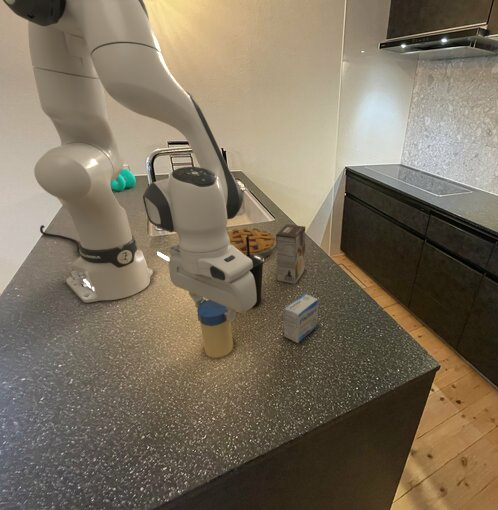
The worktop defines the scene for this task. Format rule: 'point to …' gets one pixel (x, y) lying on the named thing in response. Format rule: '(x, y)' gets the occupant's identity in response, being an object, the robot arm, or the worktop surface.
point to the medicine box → (300, 318)
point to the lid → (211, 313)
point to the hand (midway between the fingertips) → (215, 313)
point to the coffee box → (290, 253)
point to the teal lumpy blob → (123, 180)
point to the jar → (217, 339)
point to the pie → (252, 241)
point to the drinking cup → (256, 271)
